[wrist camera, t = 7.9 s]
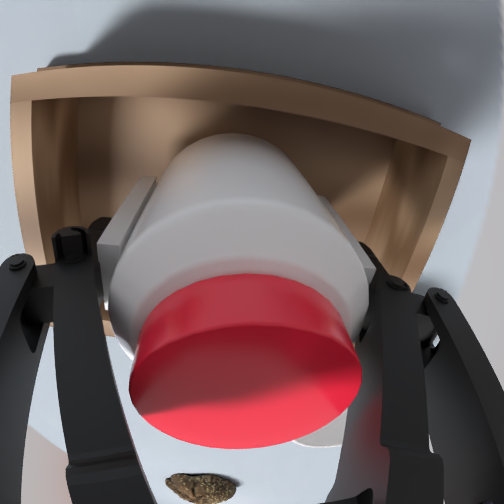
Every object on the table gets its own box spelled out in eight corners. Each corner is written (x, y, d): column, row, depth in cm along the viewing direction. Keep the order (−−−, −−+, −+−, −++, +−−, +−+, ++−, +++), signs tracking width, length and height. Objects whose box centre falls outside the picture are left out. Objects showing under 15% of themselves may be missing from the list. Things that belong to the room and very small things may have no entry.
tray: (45, 67, 13) (-17, 75, 8) (432, 120, 17) (493, 144, 12) (57, 268, 20) (23, 324, 15) (371, 295, 24) (401, 350, 19)
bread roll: (240, 487, 49) (242, 509, 45) (180, 490, 49) (180, 511, 45) (223, 469, 42) (224, 496, 38) (153, 471, 42) (151, 496, 38)
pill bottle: (329, 227, 17) (424, 398, 8) (212, 292, 19) (213, 475, 9) (257, 101, 13) (341, 174, 4) (125, 190, 15) (23, 366, 6)
